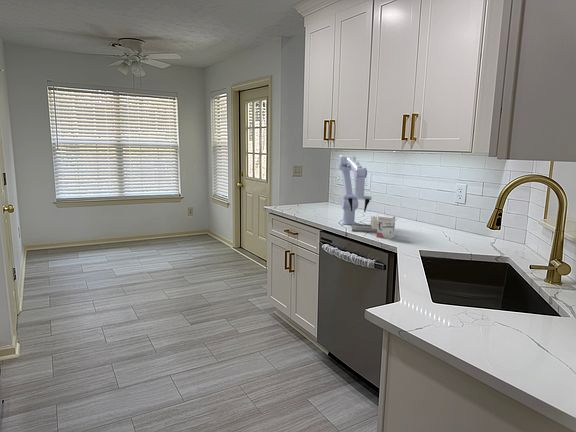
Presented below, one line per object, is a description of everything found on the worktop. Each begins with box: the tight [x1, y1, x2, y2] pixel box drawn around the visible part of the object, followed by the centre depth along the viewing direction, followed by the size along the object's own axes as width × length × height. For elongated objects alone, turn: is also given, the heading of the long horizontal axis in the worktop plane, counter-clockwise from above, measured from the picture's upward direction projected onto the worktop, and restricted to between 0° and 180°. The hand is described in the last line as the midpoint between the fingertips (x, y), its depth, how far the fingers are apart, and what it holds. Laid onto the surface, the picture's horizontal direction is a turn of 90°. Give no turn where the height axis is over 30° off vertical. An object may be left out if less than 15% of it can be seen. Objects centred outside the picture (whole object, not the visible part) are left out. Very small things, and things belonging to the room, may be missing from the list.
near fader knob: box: [372, 218, 378, 230], centre depth 236 cm, size 5×4×5 cm
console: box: [351, 223, 377, 234], centre depth 241 cm, size 17×19×1 cm
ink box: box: [376, 214, 396, 240], centre depth 221 cm, size 9×5×12 cm, turn 62°
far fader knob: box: [369, 216, 378, 226], centre depth 245 cm, size 5×4×5 cm
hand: (358, 211), depth 240 cm, fingers open, 7 cm apart
